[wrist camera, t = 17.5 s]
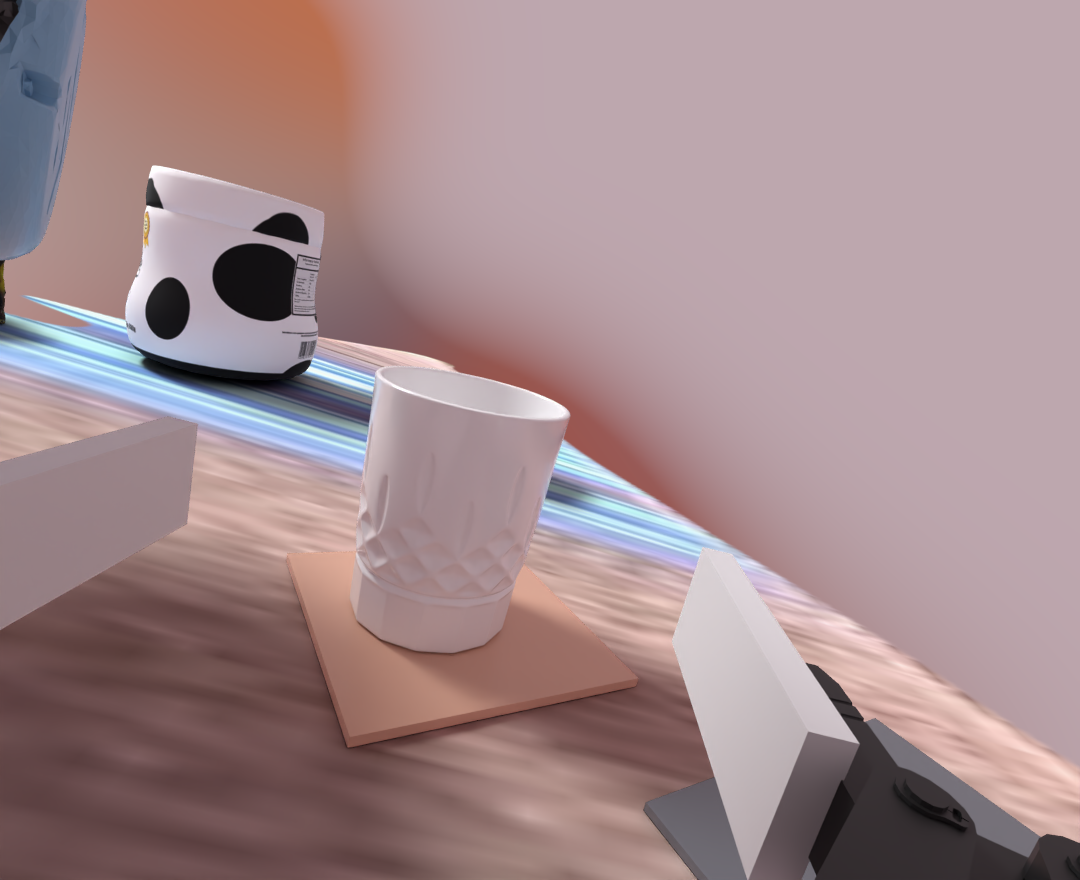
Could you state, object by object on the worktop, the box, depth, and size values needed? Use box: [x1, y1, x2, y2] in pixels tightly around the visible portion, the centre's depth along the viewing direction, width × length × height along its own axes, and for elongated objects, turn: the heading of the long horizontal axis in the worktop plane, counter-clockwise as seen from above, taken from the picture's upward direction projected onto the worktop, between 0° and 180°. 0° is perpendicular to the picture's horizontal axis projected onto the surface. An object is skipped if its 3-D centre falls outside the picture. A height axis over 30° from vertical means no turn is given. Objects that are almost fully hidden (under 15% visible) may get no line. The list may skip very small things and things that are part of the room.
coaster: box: [286, 551, 638, 748], centre depth 26 cm, size 12×12×1 cm
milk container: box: [125, 166, 324, 380], centre depth 59 cm, size 17×17×18 cm
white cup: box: [350, 366, 570, 653], centre depth 25 cm, size 8×8×10 cm
